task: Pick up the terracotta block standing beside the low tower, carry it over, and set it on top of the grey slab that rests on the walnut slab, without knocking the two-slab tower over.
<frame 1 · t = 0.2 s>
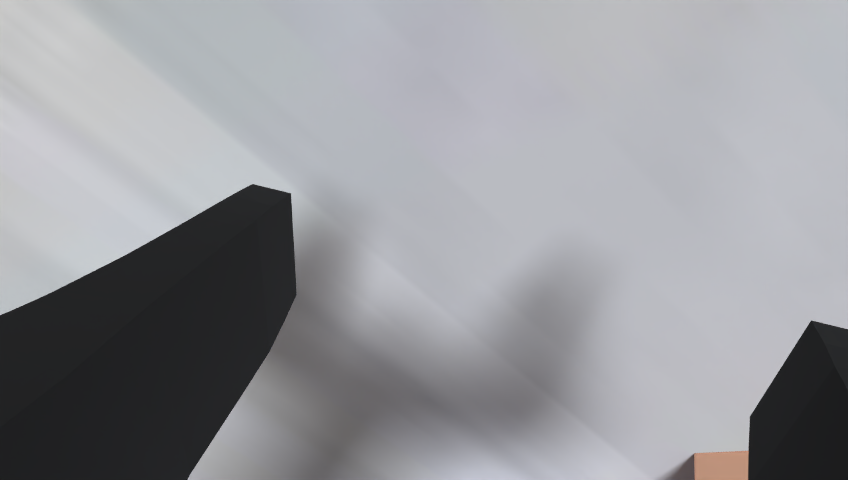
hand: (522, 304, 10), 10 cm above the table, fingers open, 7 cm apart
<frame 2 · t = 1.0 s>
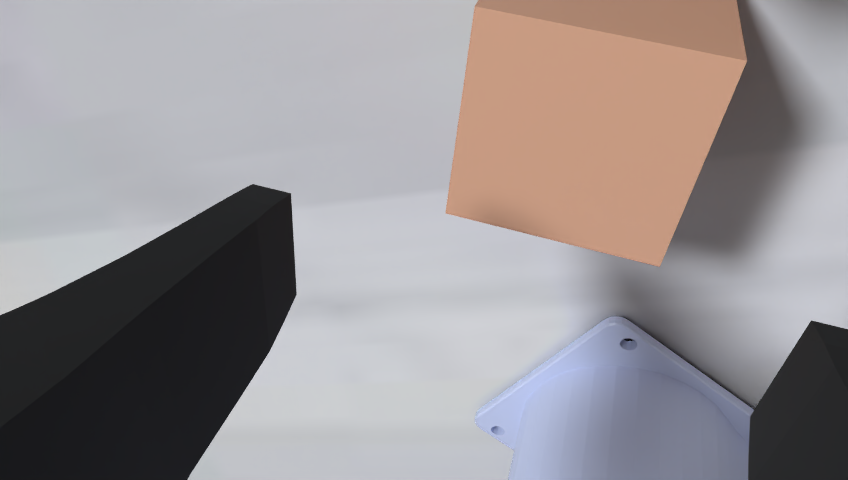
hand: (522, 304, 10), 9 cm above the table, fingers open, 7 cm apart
terracotta block: (598, 44, 17), on the table
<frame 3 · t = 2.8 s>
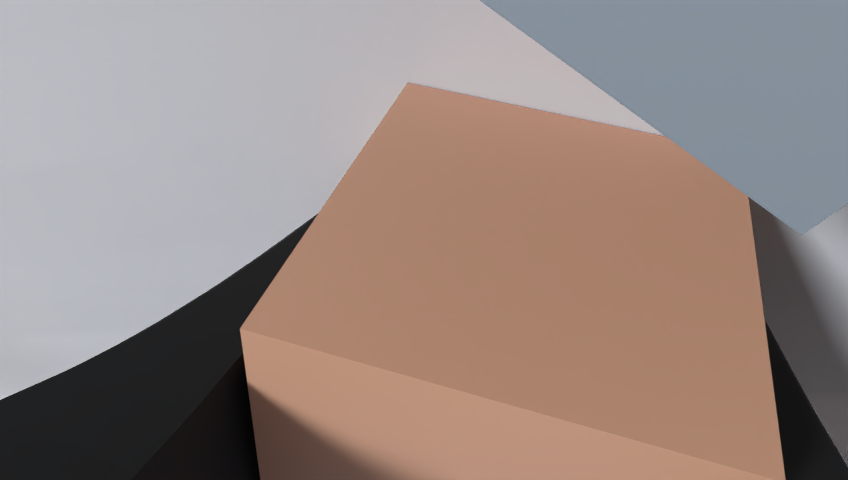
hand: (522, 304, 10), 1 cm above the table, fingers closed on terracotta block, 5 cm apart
terracotta block: (537, 244, 11), on the table, touching gripper
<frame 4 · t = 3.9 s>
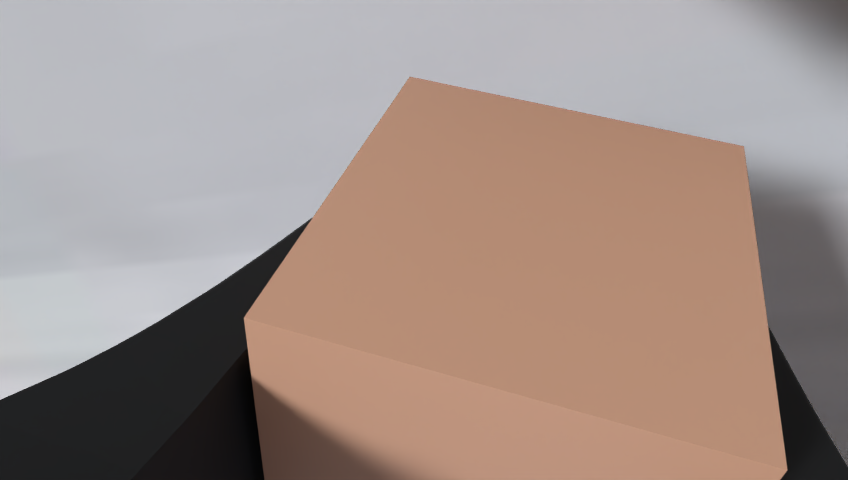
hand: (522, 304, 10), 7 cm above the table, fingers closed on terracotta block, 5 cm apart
terracotta block: (539, 238, 11), point 6 cm above the table, touching gripper
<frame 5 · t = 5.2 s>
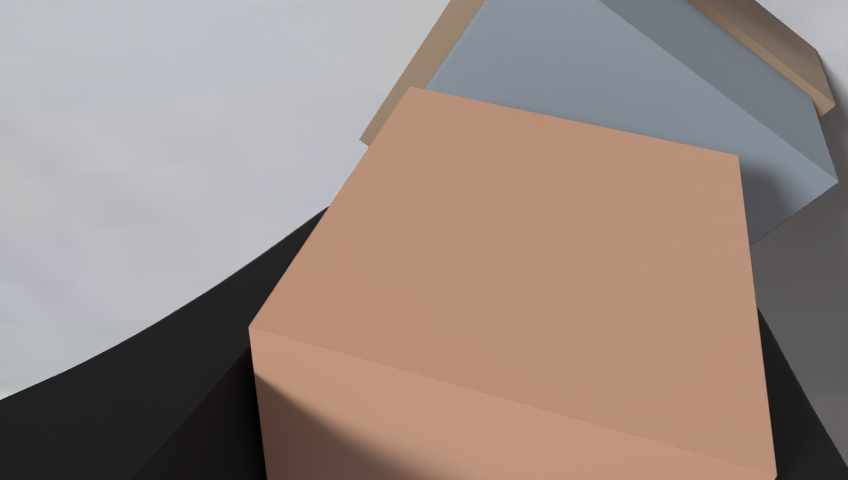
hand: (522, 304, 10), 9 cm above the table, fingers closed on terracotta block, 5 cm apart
tower base: (583, 66, 17), on the table, touching tower top
tower top: (580, 115, 15), point 3 cm above the table, touching tower base
terracotta block: (537, 244, 11), point 7 cm above the table, touching gripper
when the fingers open (8 cm above the table, at t = 6.1 s): terracotta block drops 1 cm, resting on tower top.
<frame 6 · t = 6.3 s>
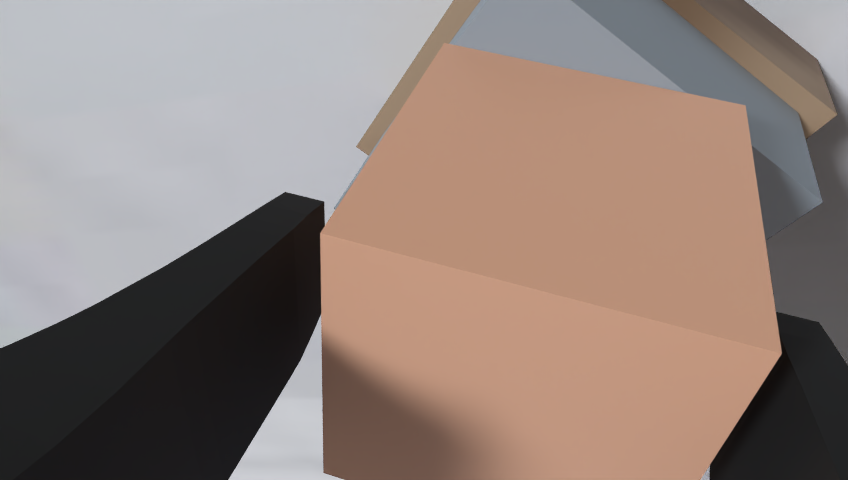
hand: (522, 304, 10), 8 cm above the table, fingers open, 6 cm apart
tower base: (582, 73, 17), on the table, touching tower top
tower top: (569, 124, 14), point 3 cm above the table, touching terracotta block, tower base
terracotta block: (557, 194, 12), point 5 cm above the table, touching tower top
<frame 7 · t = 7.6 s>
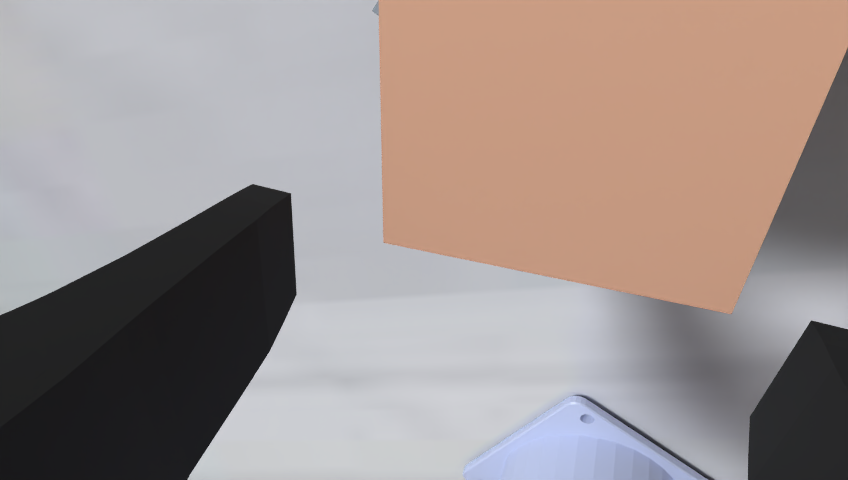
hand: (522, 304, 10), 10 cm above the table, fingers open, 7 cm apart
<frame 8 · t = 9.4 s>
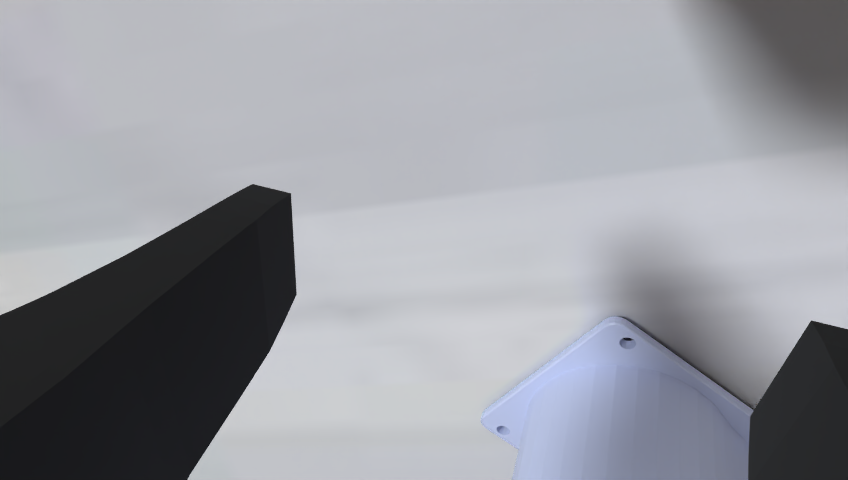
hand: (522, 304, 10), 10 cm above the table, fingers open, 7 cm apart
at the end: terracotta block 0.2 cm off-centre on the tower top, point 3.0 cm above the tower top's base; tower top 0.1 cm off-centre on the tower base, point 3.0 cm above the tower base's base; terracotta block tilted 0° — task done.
